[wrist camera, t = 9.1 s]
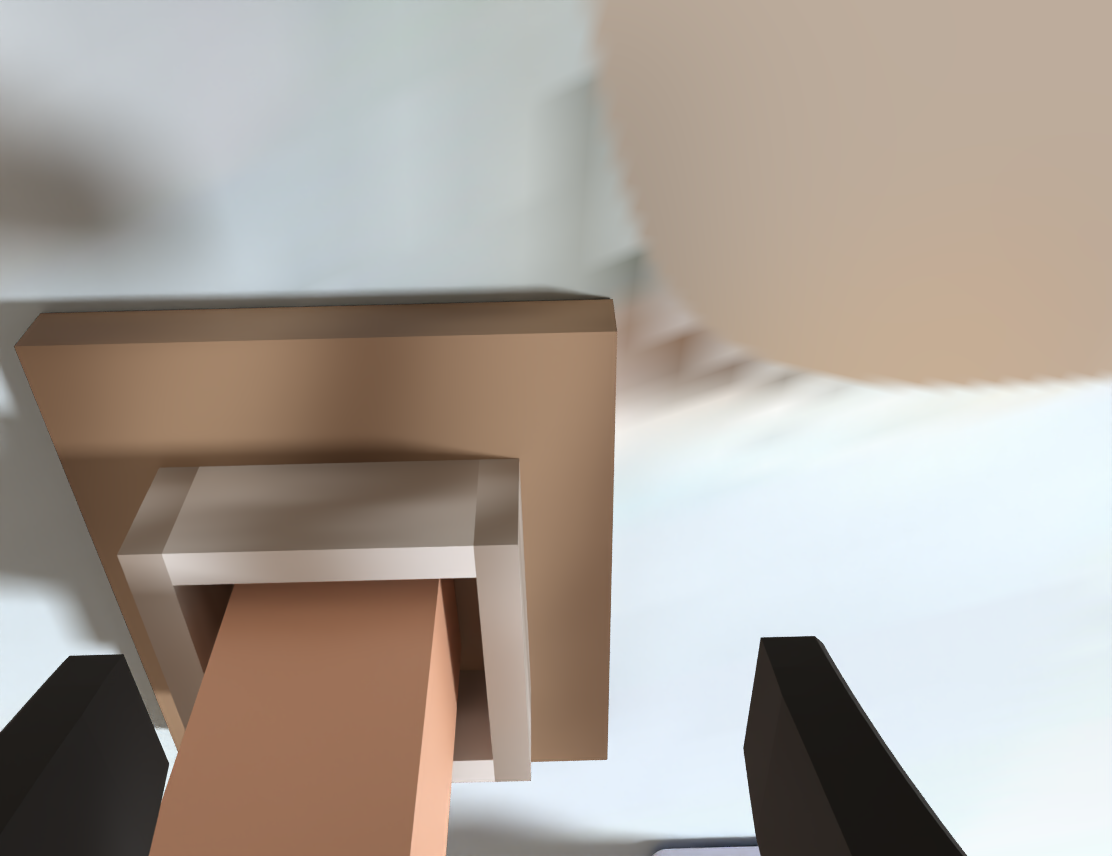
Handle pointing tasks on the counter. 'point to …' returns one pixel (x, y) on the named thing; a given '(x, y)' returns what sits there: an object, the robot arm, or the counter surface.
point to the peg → (321, 725)
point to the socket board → (357, 486)
